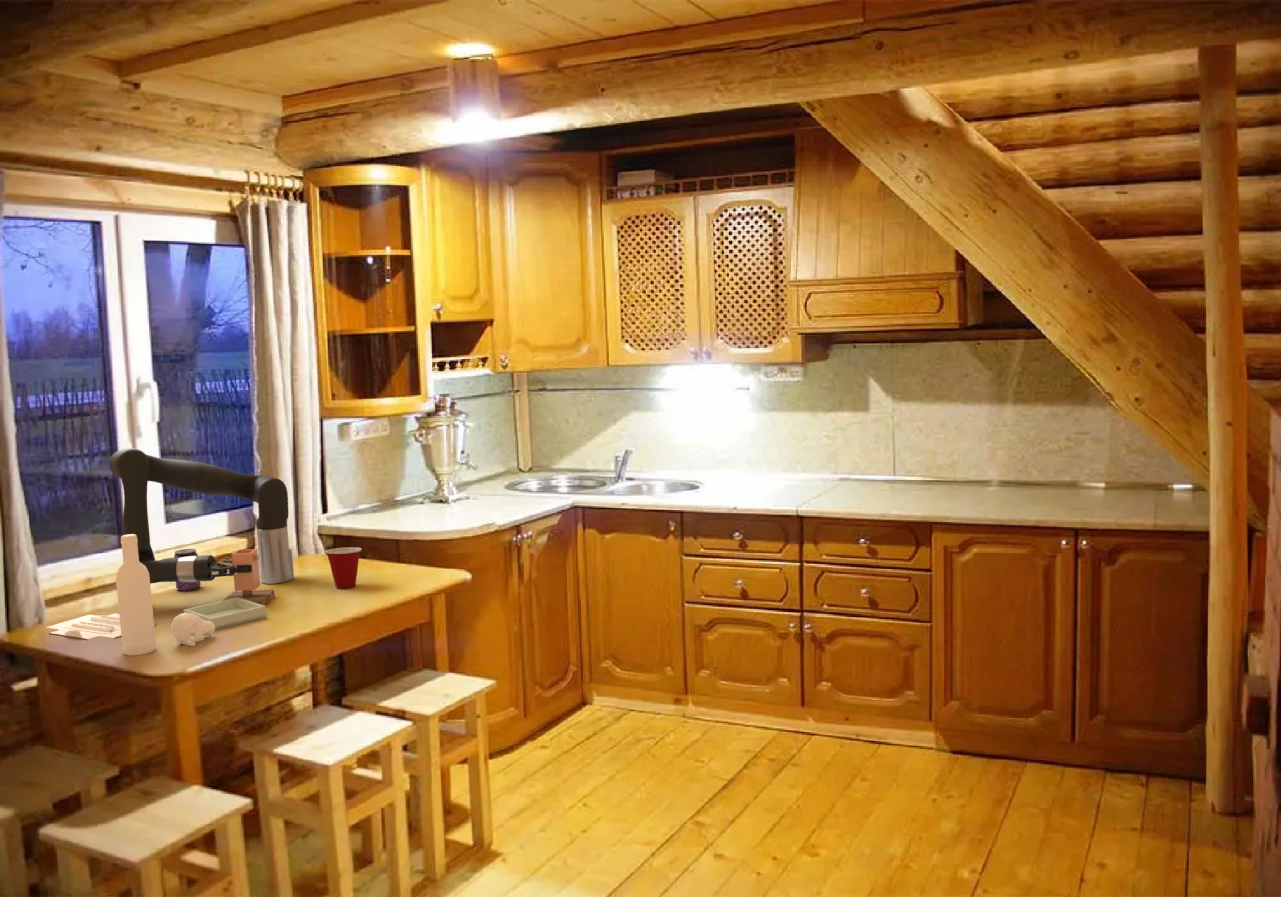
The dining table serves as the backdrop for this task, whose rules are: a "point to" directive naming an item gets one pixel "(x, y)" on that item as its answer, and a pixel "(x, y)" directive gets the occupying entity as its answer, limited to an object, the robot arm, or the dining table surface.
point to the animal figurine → (191, 628)
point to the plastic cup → (344, 566)
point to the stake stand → (253, 596)
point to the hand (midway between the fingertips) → (254, 566)
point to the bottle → (134, 601)
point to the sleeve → (246, 579)
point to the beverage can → (182, 585)
